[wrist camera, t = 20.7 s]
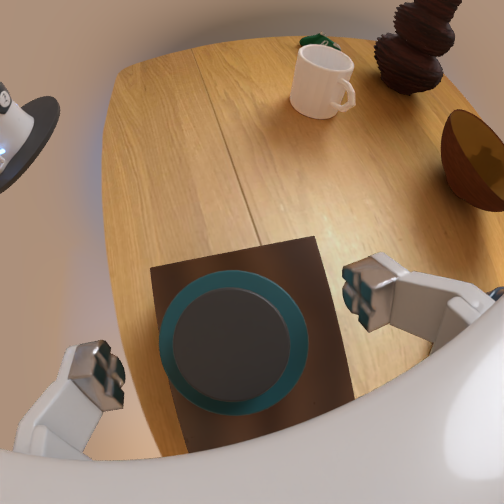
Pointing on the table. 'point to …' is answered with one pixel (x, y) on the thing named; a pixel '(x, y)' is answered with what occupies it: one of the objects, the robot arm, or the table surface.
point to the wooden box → (319, 336)
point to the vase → (416, 45)
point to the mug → (321, 82)
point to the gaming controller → (319, 41)
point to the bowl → (473, 161)
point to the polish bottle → (233, 342)
